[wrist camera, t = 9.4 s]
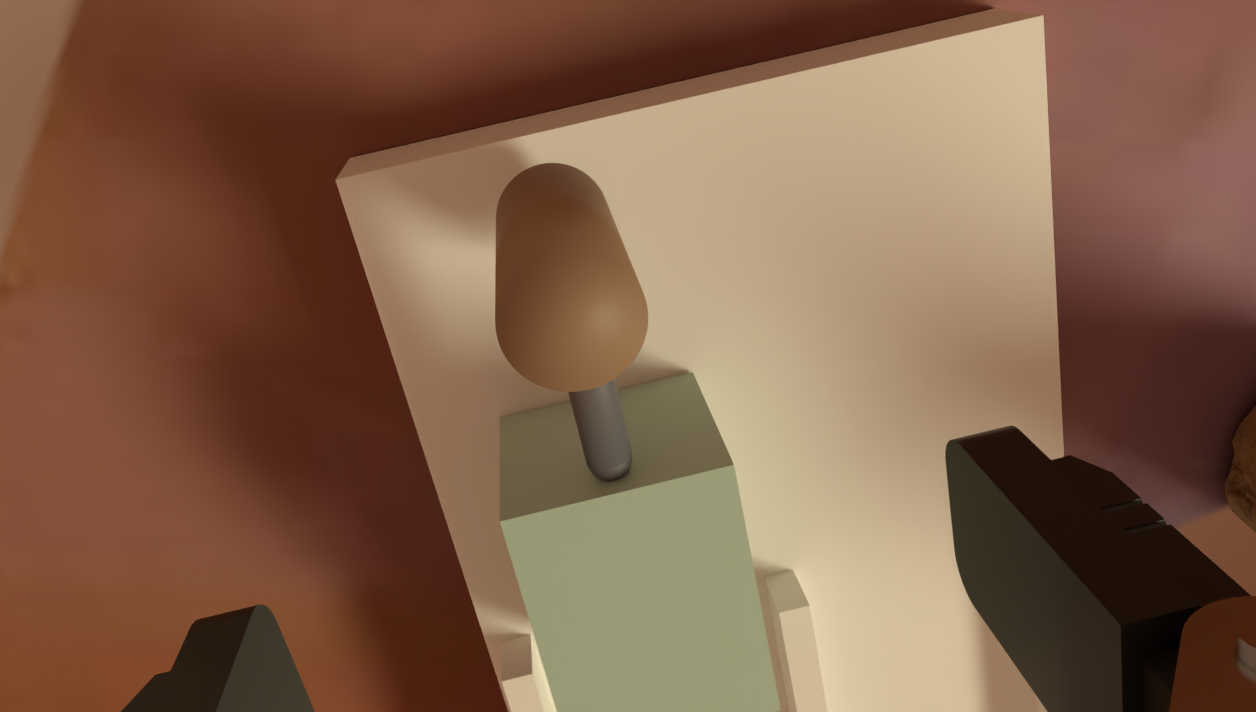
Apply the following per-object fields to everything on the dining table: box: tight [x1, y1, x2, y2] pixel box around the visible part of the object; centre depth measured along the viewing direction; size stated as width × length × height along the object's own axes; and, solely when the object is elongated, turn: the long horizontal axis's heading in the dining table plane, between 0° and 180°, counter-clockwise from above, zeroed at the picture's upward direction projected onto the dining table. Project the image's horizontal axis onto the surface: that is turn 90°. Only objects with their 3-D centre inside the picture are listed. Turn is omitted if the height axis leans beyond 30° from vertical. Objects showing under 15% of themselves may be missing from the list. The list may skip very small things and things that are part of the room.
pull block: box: [495, 163, 781, 712], centre depth 27 cm, size 16×6×10 cm, turn 12°
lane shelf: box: [335, 8, 1064, 712], centre depth 34 cm, size 32×20×8 cm, turn 12°
